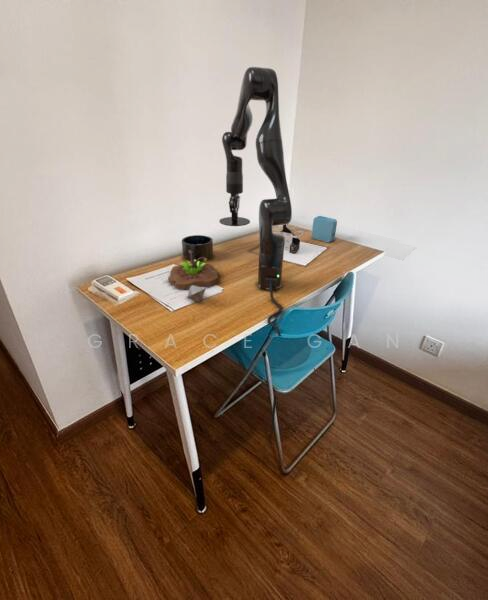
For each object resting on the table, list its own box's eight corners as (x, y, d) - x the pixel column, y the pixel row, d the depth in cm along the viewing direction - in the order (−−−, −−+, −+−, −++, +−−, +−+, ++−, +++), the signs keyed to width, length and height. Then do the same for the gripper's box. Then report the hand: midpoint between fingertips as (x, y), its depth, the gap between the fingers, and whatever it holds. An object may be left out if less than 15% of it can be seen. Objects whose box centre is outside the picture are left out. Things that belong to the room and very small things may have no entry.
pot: (208, 264, 142) (207, 246, 138) (178, 261, 144) (177, 243, 140) (216, 253, 154) (216, 236, 150) (188, 251, 156) (187, 234, 152)
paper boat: (182, 290, 118) (204, 280, 121) (190, 306, 119) (212, 295, 121) (184, 287, 107) (209, 276, 109) (193, 304, 107) (217, 293, 110)
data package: (334, 241, 176) (337, 219, 170) (330, 243, 173) (333, 221, 167) (315, 236, 182) (317, 215, 176) (311, 238, 179) (313, 216, 173)
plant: (213, 265, 141) (212, 241, 136) (223, 285, 125) (222, 258, 120) (166, 270, 136) (163, 245, 130) (170, 291, 120) (167, 263, 114)
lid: (246, 228, 147) (247, 215, 144) (215, 226, 148) (215, 212, 145) (252, 220, 159) (252, 207, 156) (223, 218, 161) (223, 205, 158)
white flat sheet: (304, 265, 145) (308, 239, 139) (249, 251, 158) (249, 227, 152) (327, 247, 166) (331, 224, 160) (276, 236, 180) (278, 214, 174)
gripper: (230, 179, 151) (230, 215, 160) (222, 183, 139) (223, 223, 148) (245, 179, 150) (245, 216, 159) (239, 184, 138) (239, 224, 147)
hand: (234, 219), depth 153 cm, fingers closed on lid, 2 cm apart
